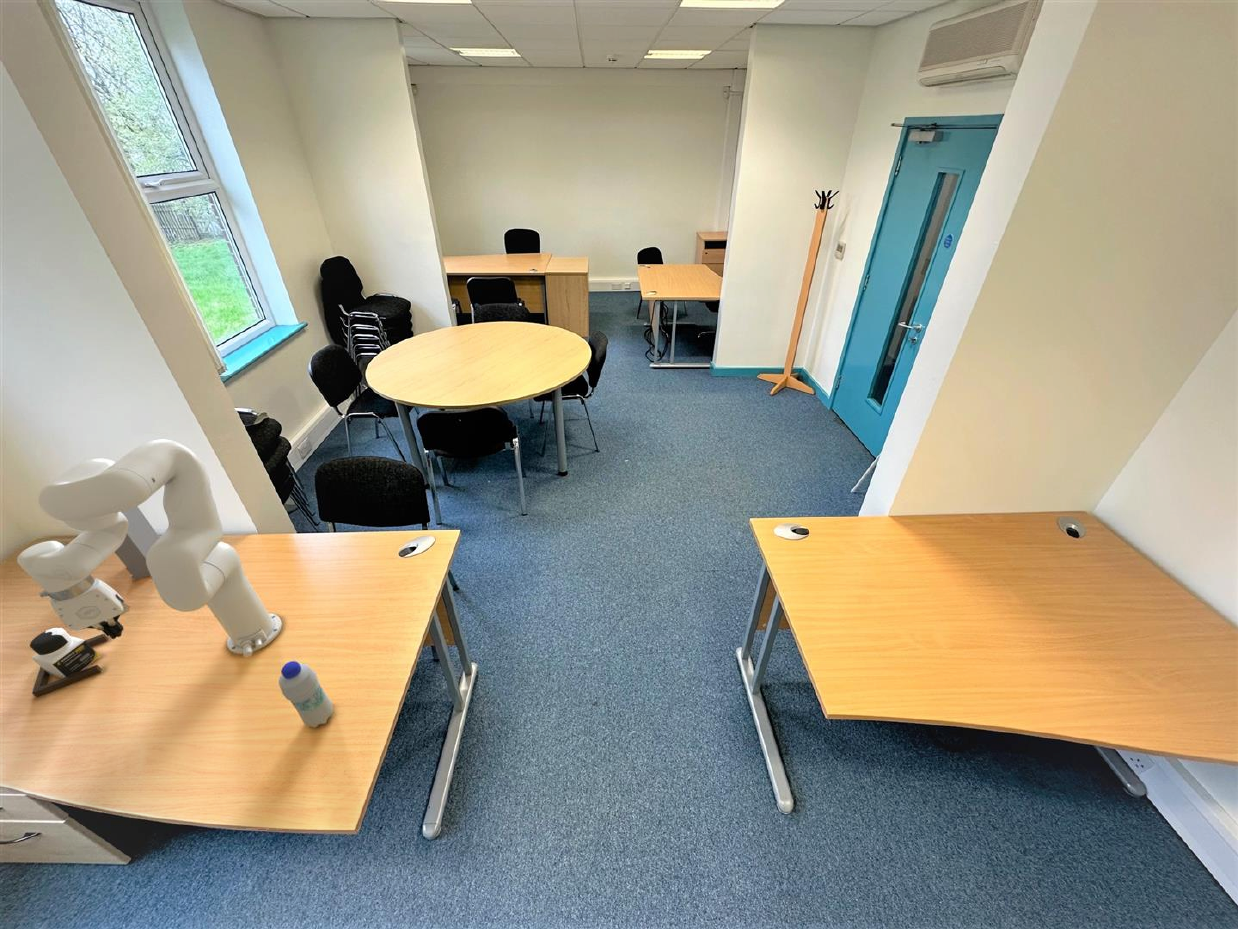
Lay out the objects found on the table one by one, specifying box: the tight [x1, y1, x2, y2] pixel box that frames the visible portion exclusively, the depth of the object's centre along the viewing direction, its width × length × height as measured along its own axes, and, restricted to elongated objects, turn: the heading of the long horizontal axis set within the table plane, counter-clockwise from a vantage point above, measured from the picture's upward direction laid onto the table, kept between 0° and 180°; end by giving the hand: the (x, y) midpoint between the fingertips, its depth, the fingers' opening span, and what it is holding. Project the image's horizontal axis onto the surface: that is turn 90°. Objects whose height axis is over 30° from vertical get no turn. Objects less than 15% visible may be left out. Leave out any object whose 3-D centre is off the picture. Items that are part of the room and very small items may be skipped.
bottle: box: [278, 660, 334, 728], centre depth 108 cm, size 7×7×20 cm
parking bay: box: [31, 633, 109, 699], centre depth 124 cm, size 13×12×2 cm
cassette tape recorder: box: [114, 505, 161, 581], centre depth 149 cm, size 14×6×25 cm, turn 28°
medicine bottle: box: [29, 627, 101, 679], centre depth 122 cm, size 7×7×12 cm
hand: (117, 634), depth 127 cm, fingers closed
